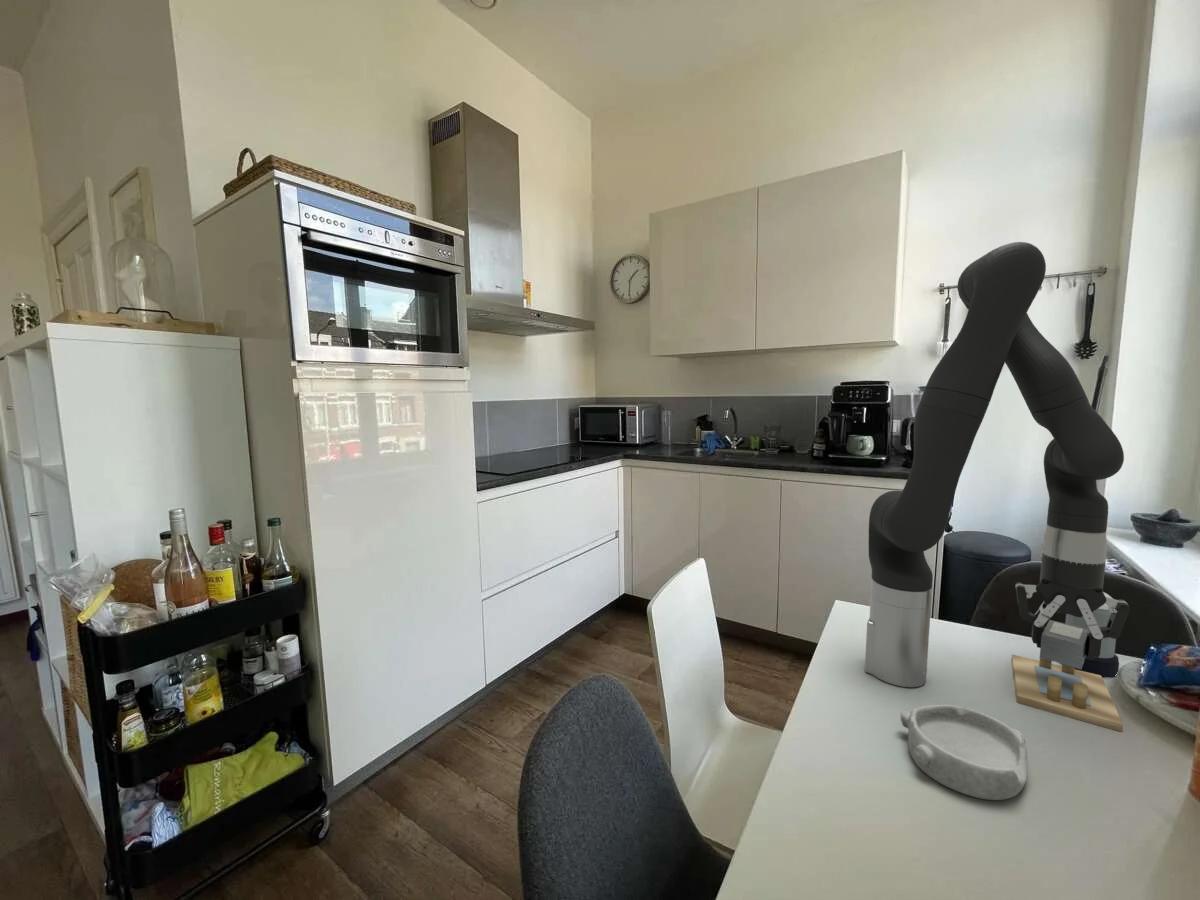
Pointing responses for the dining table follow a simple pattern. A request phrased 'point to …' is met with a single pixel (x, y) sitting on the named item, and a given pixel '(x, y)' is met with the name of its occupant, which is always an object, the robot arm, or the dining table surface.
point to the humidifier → (1107, 659)
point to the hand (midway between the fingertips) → (1064, 651)
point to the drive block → (1064, 644)
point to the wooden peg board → (1064, 691)
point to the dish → (967, 750)
